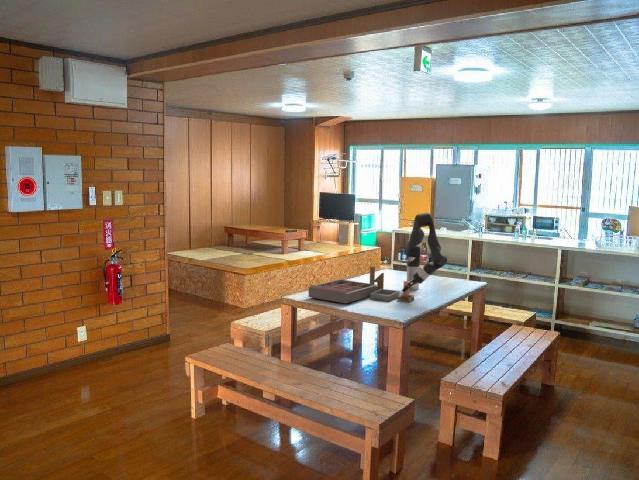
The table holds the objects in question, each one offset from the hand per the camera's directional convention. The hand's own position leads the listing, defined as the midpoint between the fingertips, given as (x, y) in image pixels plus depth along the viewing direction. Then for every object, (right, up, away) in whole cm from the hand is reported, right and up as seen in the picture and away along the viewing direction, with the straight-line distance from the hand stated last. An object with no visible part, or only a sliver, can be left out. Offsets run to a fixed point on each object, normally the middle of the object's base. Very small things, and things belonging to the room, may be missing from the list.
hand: (404, 290), depth 360 cm
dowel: (+1, -7, 0) cm, 7 cm away
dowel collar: (+1, -7, 0) cm, 7 cm away
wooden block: (-16, -4, +30) cm, 34 cm away
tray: (-12, -6, +7) cm, 16 cm away
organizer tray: (-41, -6, +8) cm, 43 cm away
